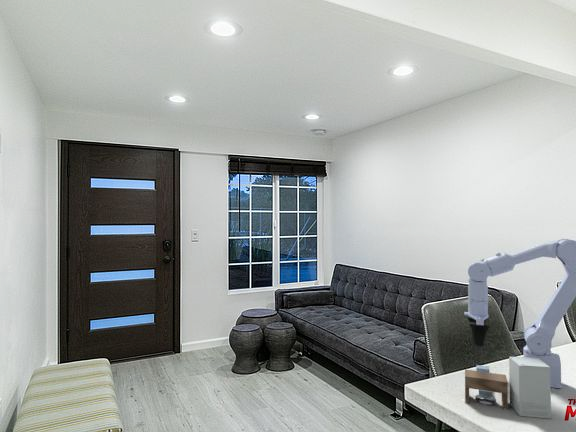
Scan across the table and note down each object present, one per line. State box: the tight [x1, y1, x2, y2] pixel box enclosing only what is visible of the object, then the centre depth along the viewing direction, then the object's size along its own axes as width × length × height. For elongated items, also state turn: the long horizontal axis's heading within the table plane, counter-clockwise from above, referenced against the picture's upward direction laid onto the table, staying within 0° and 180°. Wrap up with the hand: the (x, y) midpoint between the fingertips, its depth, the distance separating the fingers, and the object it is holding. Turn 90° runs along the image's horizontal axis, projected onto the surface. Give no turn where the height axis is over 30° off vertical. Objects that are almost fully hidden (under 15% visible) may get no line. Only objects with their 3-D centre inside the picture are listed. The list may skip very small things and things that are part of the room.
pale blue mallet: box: [475, 364, 492, 396], centre depth 118 cm, size 4×16×4 cm, turn 156°
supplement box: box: [508, 356, 552, 419], centre depth 103 cm, size 7×7×13 cm
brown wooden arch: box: [464, 368, 509, 410], centre depth 108 cm, size 10×6×7 cm, turn 66°
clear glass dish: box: [474, 393, 497, 407], centre depth 108 cm, size 5×5×1 cm
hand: (477, 342), depth 129 cm, fingers open, 7 cm apart
